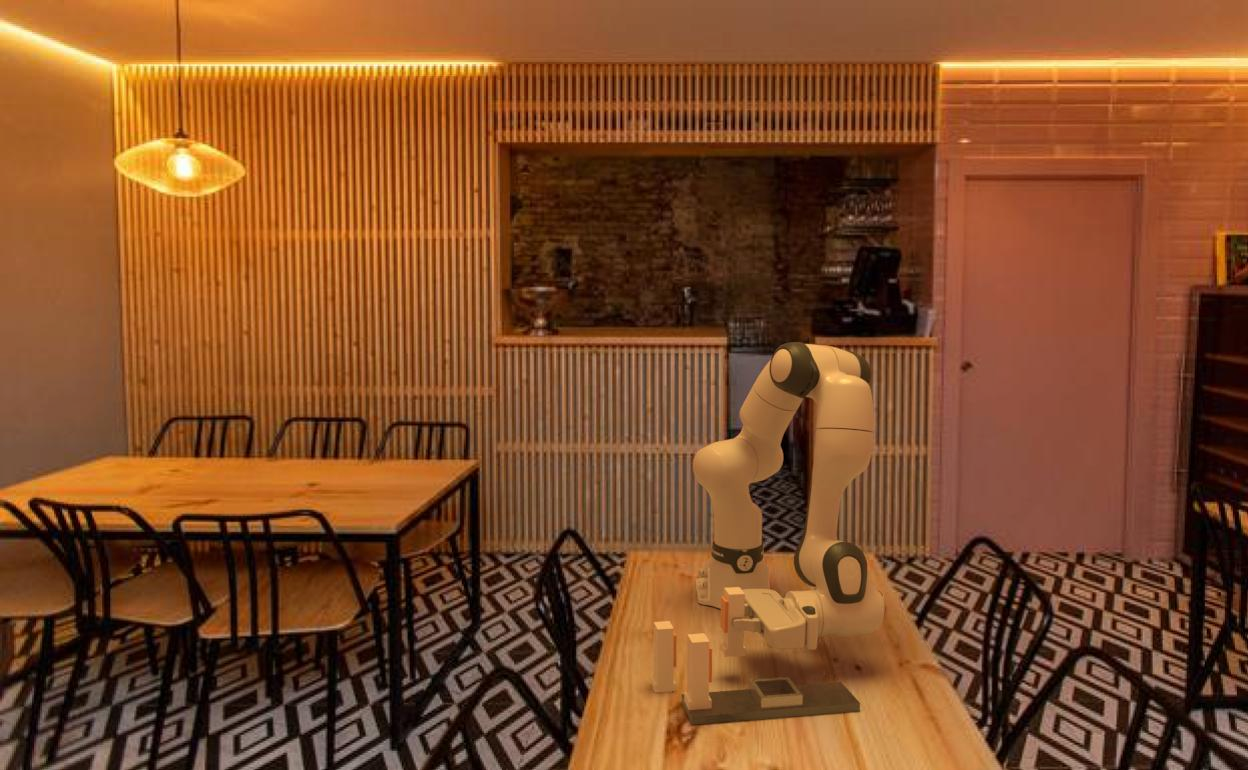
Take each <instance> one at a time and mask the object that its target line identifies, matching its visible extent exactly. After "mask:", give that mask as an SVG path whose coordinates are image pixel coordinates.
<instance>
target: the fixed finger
mask: <svg viewBox="0 0 1248 770" xmlns="http://www.w3.org/2000/svg"><path fill="white" fill-rule="evenodd" d="M686 638H687V639H686V640H687V641H686V643H687V645H686V647H687V648H686V649H687V651H686V653H687V655H686V658H687V659H686V663H687V664H686V665H687V667H686V691H684V692H683V694H684V701H685V703H686V705H687V707H688V710H698V709H710V708H712V700H711V698H710V696H709V692H710V683H713V648H712V647H711V645H710V640H709V639H708V637H707V635H706V634H705V632H704V633H701V632H700V633H690V634H689V633H688V634H687V637H686Z"/></svg>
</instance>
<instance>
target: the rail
mask: <svg viewBox="0 0 1248 770" xmlns="http://www.w3.org/2000/svg"><path fill="white" fill-rule="evenodd" d="M680 696H681V697H680V698H681V699H680V703H681V705H682V708H683V710H684V712H685V713H686V716H687V718H688V720H689V722H690V725H691V726H699V725H710V724H712V725H713V724H722V723H735V722H747V721H757V720H758V721H759V720H769V719H770V720H772V719H780V718H781V719H783V718H784V719H785V718H795V717H804V716H805V717H806V716H817V715H818V716H820V715H830V714H841V713H843V714H844V713H854V712H856V713H857V712H860V711H861V702H860V701H859V700H858V699H857V698H856V696H855V695H854V694H853V693H852V692H851V691H850V690H849V689H848V688H847V687H846V685H844V683H843V682H842V681H837V682H822V683H813V684H812V683H811V684H797V685H795V683H794V682H793V681H792V679H791V678H790V677H789V676H786V677H785V676H783V677H771V678H770V677H769V678H759V679H749V680H748V688H747V689H746V688H745V689H733V690H720V691H719V690H718V691H709V696H710V698H711V700H712V708H710V709H698V710H688V707H687V705H686V703H685V701H684V693H682V694H681V695H680Z"/></svg>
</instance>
